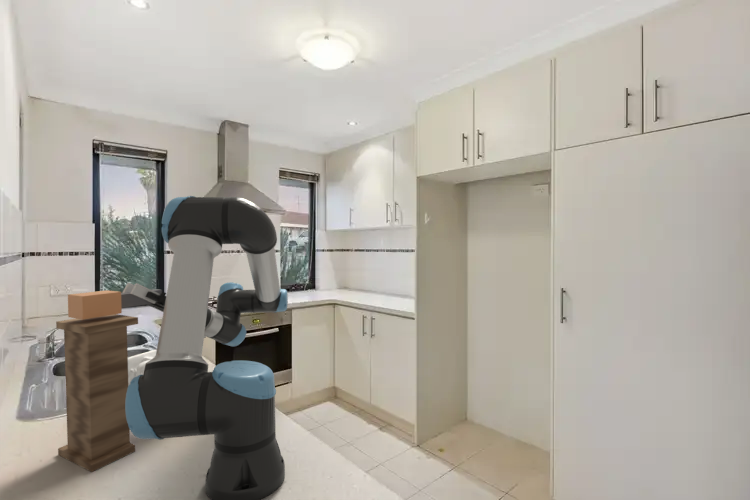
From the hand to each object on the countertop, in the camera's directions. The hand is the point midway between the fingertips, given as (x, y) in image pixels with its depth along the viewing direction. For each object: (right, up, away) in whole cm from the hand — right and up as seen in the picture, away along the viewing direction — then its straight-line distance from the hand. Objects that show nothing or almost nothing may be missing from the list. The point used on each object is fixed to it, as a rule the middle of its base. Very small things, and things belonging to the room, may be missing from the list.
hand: (129, 288), depth 96 cm
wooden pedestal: (-3, -37, -6) cm, 38 cm away
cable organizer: (-11, -36, +30) cm, 49 cm away
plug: (-1, -5, -2) cm, 6 cm away
